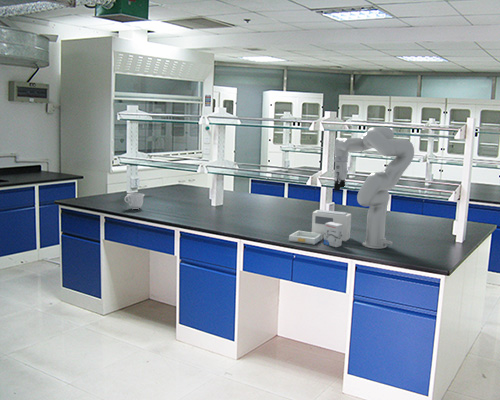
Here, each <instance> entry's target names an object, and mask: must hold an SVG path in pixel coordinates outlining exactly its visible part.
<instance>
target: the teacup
mask: <svg viewBox="0 0 500 400" xmlns="http://www.w3.org/2000/svg"><path fill="white" fill-rule="evenodd" d="M144 197H145V194H144V193H140V192H132V193H127V194H126V196H124V202H125V203H127V204H128V205H129V207H130V208H131V210H133V209H138V210H140V209H141V207H143V205H144V204H143V203H144ZM139 208H140V209H139Z"/></svg>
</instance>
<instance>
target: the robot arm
mask: <svg viewBox="0 0 500 400" xmlns="http://www.w3.org/2000/svg"><path fill="white" fill-rule="evenodd" d="M394 136H395V134H394V131H393V130H392V129H391V128H390V127H388V126H387V127H385V126H373V127H370V128H369V129H367V131H365V132H364V133H363V136H362V137H336V138H335V140H334V159H333V161H334V173H333V174H334V175H333V176H334V183H333V187H334V188H333V191H340V190H341V188H340V187H344V186H345V187H346V179H347V178H348V162H349V160H348V159H349V153H353V152H365V151H367V150H371V149H373V148H374V150H376V151H377V152H378V153H379V154H380V155H382V156H384V157H388V158H389V157H393V159H392V160H391V161H390V162H389V163H388V164H387V166H386V168H385V169H384V170H382V171H379V172H378V171H377V172H373V173H370V174H369V175H368V176H367V177H366V179H365V180H364V182H363V184H362V185H361V187H360V188H359V190H358V193H357V195H356V197H357V198H356V201H357V203H358V204H359V205H360V206H362V207H368V210H367V216H366V230H365V232H366V233H365V241H362V243H361V244H362V246H363V247H364V248H368V249H375V250H376V249H377V250H378V249H379V250H381V249H385V248H386V249H387V245H389V246H392V245H393V241H391V240H387V238H386V237H385V233H386V220H387V219H386V218H387V210H388V204H389V201H390V193H389V191H390V190H392V189H394V188H395V187H396V185H397V184H398V182H399V180H400V179H401V177H402V176H403V175H404V173H405V171H406V170H407V169H408V167H409V166H410V165H411V163H412V161H413V159H414V156H415V148H414V147H415V146H414V145H413V143H412V141H410V140H409V139H404V138H396V139H395V137H394ZM394 157H395V158H394Z"/></svg>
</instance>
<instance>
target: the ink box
mask: <svg viewBox="0 0 500 400" xmlns="http://www.w3.org/2000/svg"><path fill="white" fill-rule="evenodd" d="M342 230H343V225H342V224H338V223H334V222H328V223H325V233H324V238H323V245H325V246H330V247H333V248H338V247H339V248H340V247H342V242H343V241H342Z"/></svg>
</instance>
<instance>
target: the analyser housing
mask: <svg viewBox="0 0 500 400" xmlns="http://www.w3.org/2000/svg"><path fill="white" fill-rule="evenodd" d="M328 222H334V223H338V224H342V225H343V230H342V242H347V241H348V240H350V238H351V226H352V213H348V212H345V211H336V210H327V209H316V210H314V211H313V212H312V218H311V232H313V233H320V234H323V239H324V233H325V223H328Z"/></svg>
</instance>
